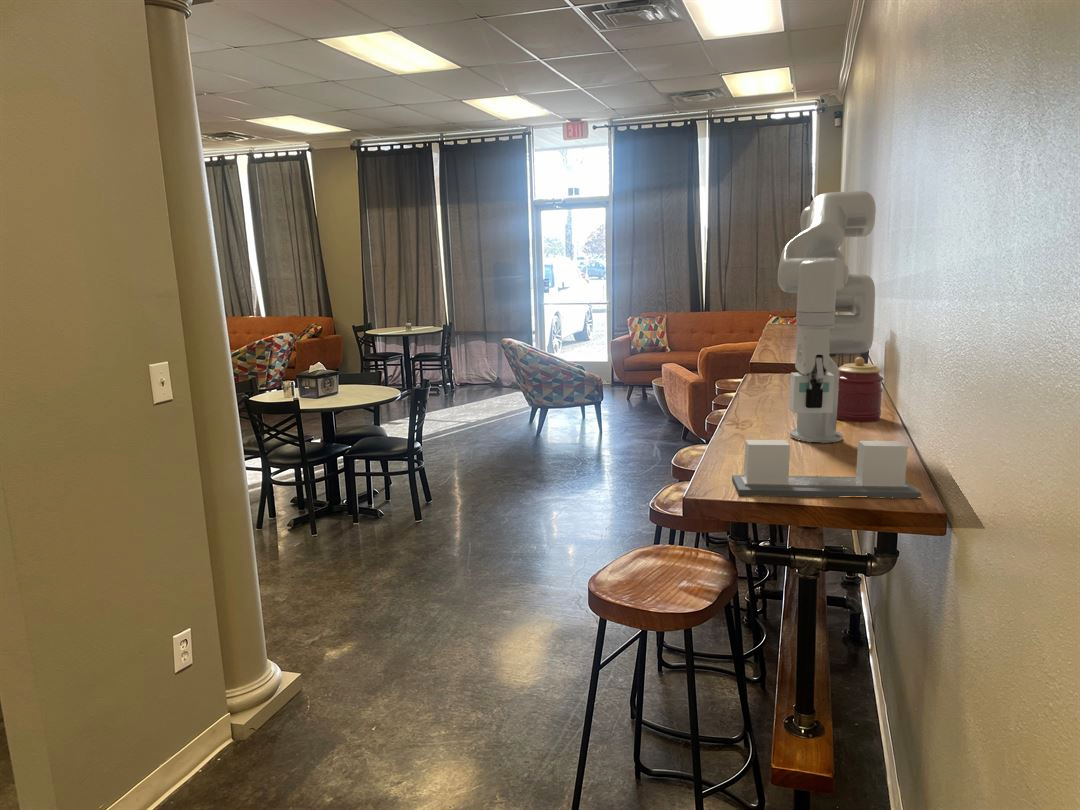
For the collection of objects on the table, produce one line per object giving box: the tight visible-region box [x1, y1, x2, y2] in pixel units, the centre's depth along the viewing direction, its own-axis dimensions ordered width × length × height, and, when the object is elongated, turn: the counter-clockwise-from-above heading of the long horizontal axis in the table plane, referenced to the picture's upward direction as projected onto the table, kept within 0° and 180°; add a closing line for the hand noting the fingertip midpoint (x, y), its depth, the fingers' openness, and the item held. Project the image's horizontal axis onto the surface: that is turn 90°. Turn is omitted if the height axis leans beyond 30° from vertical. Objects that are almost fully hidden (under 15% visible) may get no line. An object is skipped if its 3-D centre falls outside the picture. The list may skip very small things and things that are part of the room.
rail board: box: [731, 474, 922, 499], centre depth 146 cm, size 10×34×1 cm, turn 83°
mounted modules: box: [743, 439, 909, 486], centre depth 145 cm, size 4×30×8 cm, turn 83°
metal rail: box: [741, 477, 908, 489], centre depth 146 cm, size 5×31×1 cm, turn 83°
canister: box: [837, 356, 884, 423], centre depth 208 cm, size 13×13×18 cm
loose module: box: [789, 372, 834, 414], centre depth 155 cm, size 4×8×8 cm, turn 83°
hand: (811, 404), depth 156 cm, fingers closed on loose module, 4 cm apart
